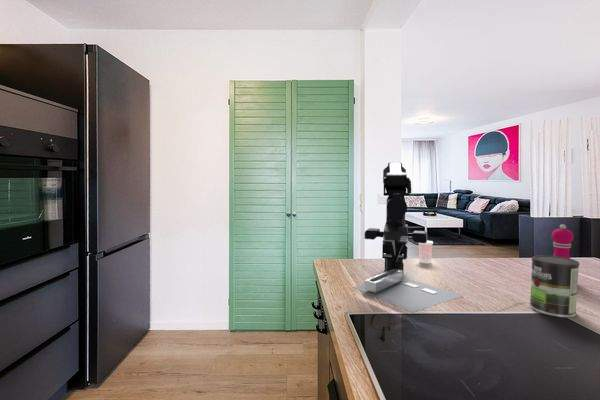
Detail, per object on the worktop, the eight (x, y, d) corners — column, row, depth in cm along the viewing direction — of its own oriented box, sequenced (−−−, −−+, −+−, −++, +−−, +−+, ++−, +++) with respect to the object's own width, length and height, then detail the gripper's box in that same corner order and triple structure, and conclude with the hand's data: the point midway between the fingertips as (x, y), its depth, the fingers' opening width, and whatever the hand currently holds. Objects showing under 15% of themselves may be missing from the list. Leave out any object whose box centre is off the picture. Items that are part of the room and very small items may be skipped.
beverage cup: (432, 260, 146) (432, 229, 145) (433, 264, 140) (433, 231, 139) (417, 259, 148) (418, 228, 147) (417, 263, 142) (418, 230, 141)
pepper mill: (578, 284, 112) (581, 226, 111) (554, 283, 114) (556, 225, 112) (566, 278, 119) (568, 223, 118) (543, 277, 121) (545, 222, 119)
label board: (352, 290, 108) (352, 286, 108) (401, 278, 120) (401, 275, 120) (412, 315, 88) (412, 311, 88) (463, 298, 100) (463, 295, 100)
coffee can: (550, 318, 86) (553, 264, 85) (520, 303, 96) (522, 255, 95) (587, 317, 86) (590, 263, 86) (554, 302, 97) (556, 254, 96)
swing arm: (394, 276, 117) (394, 267, 117) (405, 279, 115) (405, 269, 114) (364, 289, 104) (364, 279, 104) (375, 292, 101) (375, 281, 101)
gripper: (360, 215, 101) (360, 265, 102) (425, 217, 94) (424, 272, 95) (368, 211, 111) (368, 257, 113) (427, 213, 104) (426, 262, 105)
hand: (395, 261), depth 106 cm, fingers closed
